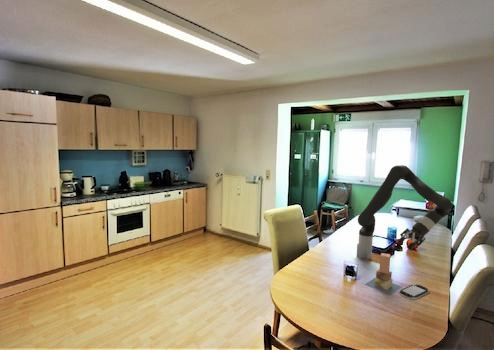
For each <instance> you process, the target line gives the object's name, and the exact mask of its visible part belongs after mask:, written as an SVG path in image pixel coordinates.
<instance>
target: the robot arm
mask: <svg viewBox="0 0 494 350" xmlns="http://www.w3.org/2000/svg"><path fill="white" fill-rule="evenodd" d="M401 180H403V181H405V182H407V183H408V184H410V186H412V188H413V189H414V191H416V193H417V194H418V196H420V197H422V198H423V199H424V200H425V201H427V202H429V203H433V205H436V206H435V207H434V208H433V209H430V210H429V211H428V212H427V213H425V214H424V215H423V216H422V217H421V218H420V219H419V220H417V222H416V223H415V224H413V225H412V229H409V228H408V227H407V228H405V230H403V232H401V233H400V234H399V236H400V238H399V239H398V240H397V241H396V242H397V244H399V245H401V244H403V242H404V241H405V240H411V242H410V243H408V245H407V246H406V248H407V249H408V250H409V251H410V250H412V249H413V248H414V247H415V246H417V247H420V245H422V243H424V241H425V240H427V239H426V237H425V236H426V235H427V234H428V233H430V231H431V230H432V229H433V228H434V227H435V226H436V224H437V225H438V223H439V222H440V221H441V220H442V219H443V218H444V217H446V216H447V215H448V214H450V213H451V211H452V208H453V202H452V201H451V200H450V199H449V198H448V197H446V196H444V195H442V194H440V193H438V192H437V191H436V190H435V189H433V188H432V187H430V186H429V185H428V184H426V182H424V181H422V180H421V179H420V178H419V177H418V176H417V175H416V174H415V173H414V172H413V170H411V169H410V168H409V167H408V166H406V165H403V164H402V165H393V167H391V169H390V170H389V172H388V173H387V175H386V178H385V180H384V181H383V183H382V184H381V185H380V186H379V188H378V190H377V191H376V192H375V194H374V195H373V197H372V198H371V200H370V201H369V202H368V203H367V206H366V207H365V208H364V209H363V211H361V213H360V214H359V215H358V218H357V223H358V225H360V226H361V228H360V229H358V230H359V231H358V242H357V245H356V257H358V258H359V259H362V260H371V259H372V255H373V252H372V251H373V237H374V232H375V229H376V228H375V226H376V217H375V214H376V213H378V212H379V211H380V210H381V209H382V208H384V207H385V206H386V205H387V204H388V202H389V201H390V200H391V197H392V194H393V190H394V188H395V187H396V185H397V184H398V182H399V181H401Z"/></svg>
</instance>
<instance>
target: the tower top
mask: <svg viewBox="0 0 494 350" xmlns="http://www.w3.org/2000/svg"><path fill="white" fill-rule="evenodd" d="M375 274H376V275H375V277H376V278H378V279H381V280H383V281H386V282H387V281H388V280H390V279H391V278H392V274H393V273H392V271H390V270H389V273H388V274H385V273H381V272H379V269H378V270H376V273H375Z"/></svg>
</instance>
